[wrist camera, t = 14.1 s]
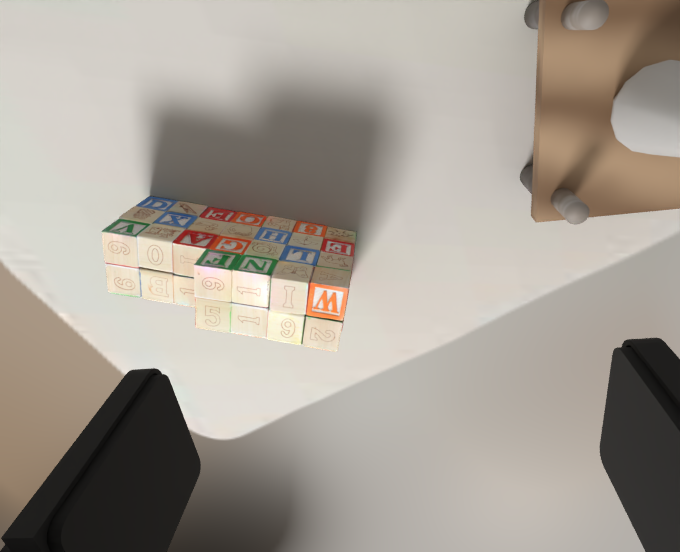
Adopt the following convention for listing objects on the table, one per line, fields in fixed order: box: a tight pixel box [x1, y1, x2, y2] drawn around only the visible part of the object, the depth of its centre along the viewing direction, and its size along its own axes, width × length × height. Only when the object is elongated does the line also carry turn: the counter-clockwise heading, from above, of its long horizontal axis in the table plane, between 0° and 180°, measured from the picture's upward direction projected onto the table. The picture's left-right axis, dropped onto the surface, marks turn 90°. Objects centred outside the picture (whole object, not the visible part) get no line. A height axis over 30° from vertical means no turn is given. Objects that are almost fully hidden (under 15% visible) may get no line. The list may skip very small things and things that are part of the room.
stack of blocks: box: [102, 196, 356, 351], centre depth 44 cm, size 21×6×12 cm, turn 82°
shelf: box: [520, 0, 680, 224], centre depth 35 cm, size 16×14×11 cm
